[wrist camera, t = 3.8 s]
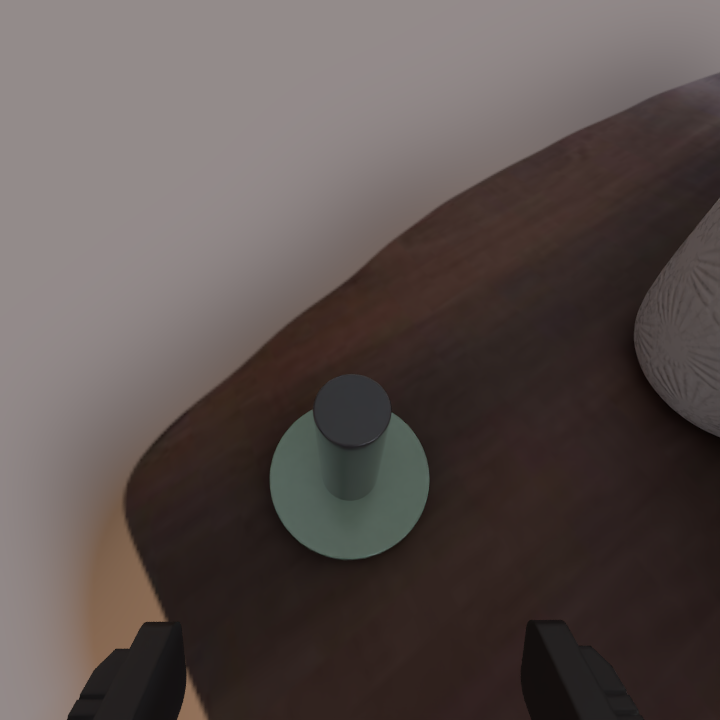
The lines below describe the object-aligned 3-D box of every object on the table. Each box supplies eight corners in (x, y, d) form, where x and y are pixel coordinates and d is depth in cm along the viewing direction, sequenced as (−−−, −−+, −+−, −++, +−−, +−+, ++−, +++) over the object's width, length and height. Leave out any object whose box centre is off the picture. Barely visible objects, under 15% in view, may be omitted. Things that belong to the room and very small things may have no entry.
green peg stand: (280, 576, 23) (245, 548, 14) (265, 421, 26) (231, 330, 18) (444, 544, 23) (495, 500, 15) (406, 398, 27) (432, 302, 19)
